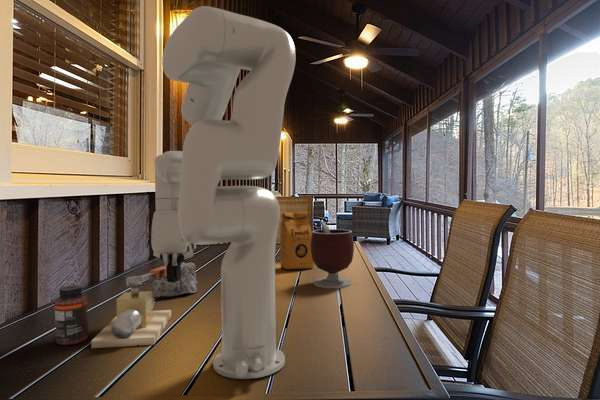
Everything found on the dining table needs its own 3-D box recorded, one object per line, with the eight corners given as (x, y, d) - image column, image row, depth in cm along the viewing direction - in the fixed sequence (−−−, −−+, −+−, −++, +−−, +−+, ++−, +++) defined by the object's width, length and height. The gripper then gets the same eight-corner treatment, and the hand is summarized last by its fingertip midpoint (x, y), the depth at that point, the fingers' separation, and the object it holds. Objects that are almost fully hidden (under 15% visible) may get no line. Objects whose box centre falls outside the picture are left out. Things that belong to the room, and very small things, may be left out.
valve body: (138, 338, 84) (137, 296, 83) (107, 339, 83) (106, 297, 83) (158, 310, 102) (157, 276, 102) (133, 311, 102) (132, 277, 101)
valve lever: (136, 287, 90) (136, 279, 90) (123, 286, 91) (123, 278, 91) (176, 272, 106) (176, 265, 106) (165, 272, 107) (165, 265, 107)
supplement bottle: (81, 333, 91) (79, 282, 91) (93, 339, 87) (92, 286, 87) (51, 341, 86) (49, 287, 86) (63, 348, 83) (61, 292, 82)
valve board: (154, 344, 84) (154, 337, 84) (91, 348, 83) (91, 340, 83) (171, 316, 103) (171, 309, 103) (120, 318, 101) (120, 312, 101)
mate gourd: (362, 286, 131) (361, 222, 131) (322, 290, 126) (321, 224, 126) (339, 276, 146) (339, 219, 145) (302, 280, 141) (302, 221, 140)
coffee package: (316, 269, 159) (316, 212, 158) (285, 272, 155) (284, 213, 154) (308, 265, 168) (307, 210, 168) (278, 267, 164) (277, 211, 164)
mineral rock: (151, 301, 117) (150, 265, 117) (154, 292, 127) (153, 259, 127) (198, 297, 120) (197, 263, 120) (197, 289, 131) (197, 257, 130)
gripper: (207, 205, 102) (209, 279, 102) (156, 205, 107) (158, 276, 107) (189, 206, 95) (191, 286, 95) (135, 206, 100) (138, 282, 100)
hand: (173, 281), depth 101 cm, fingers closed
